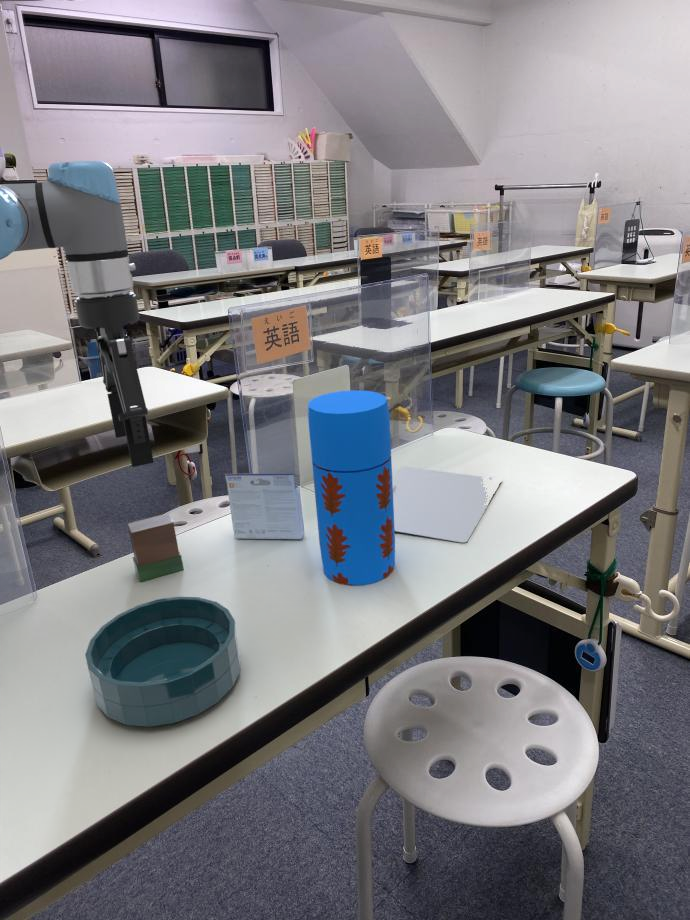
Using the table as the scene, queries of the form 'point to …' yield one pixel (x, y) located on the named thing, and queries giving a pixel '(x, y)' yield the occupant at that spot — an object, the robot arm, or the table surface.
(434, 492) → the white flat square sheet
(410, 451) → the table surface
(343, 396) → the thermos
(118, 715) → the bowl
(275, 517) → the ink box
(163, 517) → the sponge
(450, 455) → the table surface
